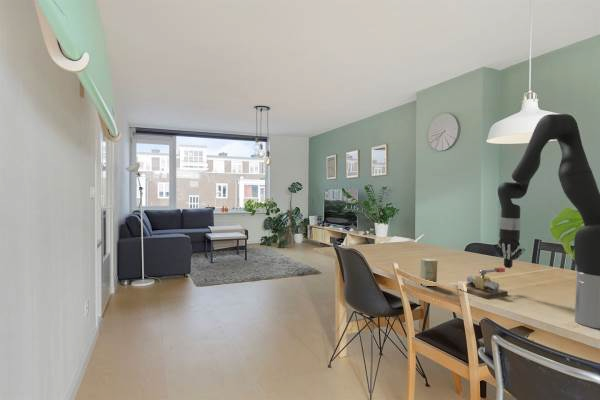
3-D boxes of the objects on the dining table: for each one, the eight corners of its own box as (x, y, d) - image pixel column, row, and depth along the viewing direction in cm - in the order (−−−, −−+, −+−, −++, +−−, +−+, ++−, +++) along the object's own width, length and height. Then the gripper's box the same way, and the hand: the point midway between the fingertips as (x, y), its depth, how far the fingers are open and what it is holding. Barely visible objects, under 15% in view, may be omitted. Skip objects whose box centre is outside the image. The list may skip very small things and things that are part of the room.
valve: (499, 293, 140) (500, 277, 140) (492, 294, 138) (493, 278, 138) (472, 285, 152) (473, 270, 152) (465, 285, 150) (466, 270, 150)
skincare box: (425, 287, 152) (426, 260, 152) (419, 284, 156) (420, 258, 156) (437, 286, 154) (438, 260, 153) (431, 283, 158) (431, 258, 157)
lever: (483, 274, 143) (483, 271, 143) (477, 273, 145) (477, 269, 145) (505, 272, 149) (505, 268, 149) (499, 270, 151) (499, 267, 151)
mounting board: (507, 294, 143) (507, 291, 143) (485, 298, 137) (485, 294, 137) (478, 286, 156) (478, 282, 155) (456, 289, 150) (456, 285, 150)
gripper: (531, 229, 140) (528, 270, 141) (501, 226, 153) (499, 263, 153) (519, 230, 137) (517, 272, 138) (489, 226, 149) (488, 264, 150)
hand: (507, 267), depth 146 cm, fingers closed
